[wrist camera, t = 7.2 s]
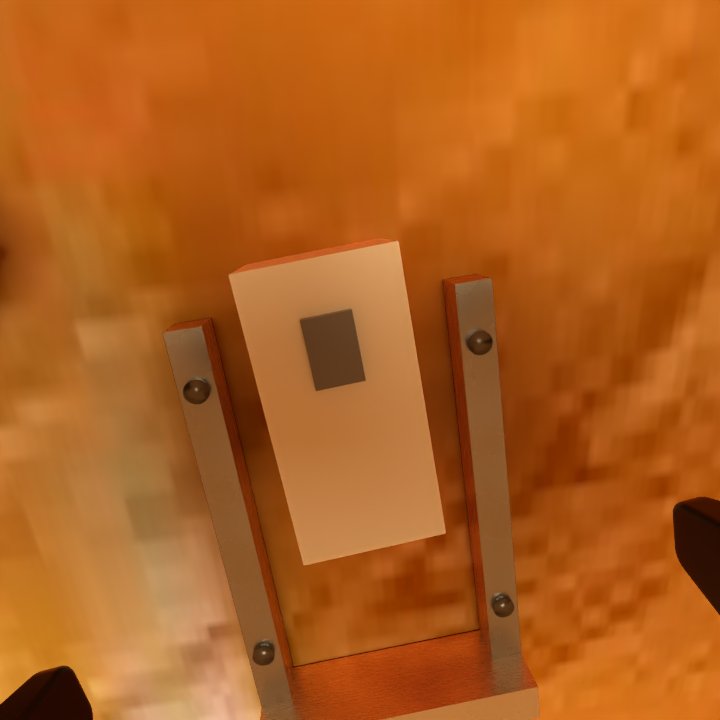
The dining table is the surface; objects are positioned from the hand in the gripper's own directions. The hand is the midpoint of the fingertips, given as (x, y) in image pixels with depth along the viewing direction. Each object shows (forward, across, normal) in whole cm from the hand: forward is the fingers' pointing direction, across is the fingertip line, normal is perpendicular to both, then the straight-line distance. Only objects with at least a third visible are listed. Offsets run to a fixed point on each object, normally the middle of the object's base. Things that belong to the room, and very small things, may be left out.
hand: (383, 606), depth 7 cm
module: (+11, 0, 0) cm, 11 cm away
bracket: (+11, 0, +4) cm, 12 cm away
